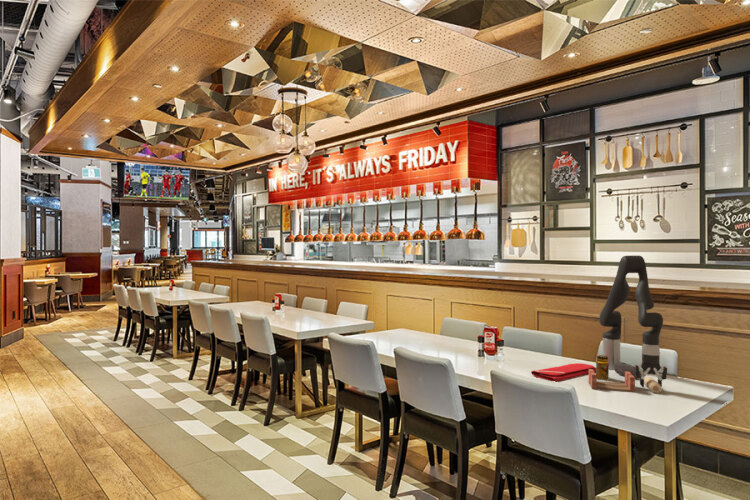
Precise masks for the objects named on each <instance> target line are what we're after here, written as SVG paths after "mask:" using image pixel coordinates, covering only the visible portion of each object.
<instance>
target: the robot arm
mask: <svg viewBox="0 0 750 500" xmlns="http://www.w3.org/2000/svg"><path fill="white" fill-rule="evenodd" d="M628 274H637V275H638V282H637V285H636V287H635V290H634V296H635V300H636V303H637V307H638V308H637V311H638V314H637V315H638V317H637V320H638V323H639V325H640V326H642V327H643V328H650V329H649V330H647V331H644V332H643V333H642V344H641V345H642V346H641V364H634V367H635V375H636V377H637V378H639V385H640V386H641V387H642V388H645V384H644V378H646V377H647V375H656V378H657V383H658V384H659V385H660V386H661V388H662V386H663V381H664V380H667V376H668V375H667V374H668V367H667V366H664V365H663V366H661V365H660V364H661V363H660V362H661V361H660V357H661V356H660V354H661V352H660V350H661V349H660V335H661V331H662V328H663V325H664V324H663V323H664V317H663V315H662V314H661V313H659V312H648V310H652V309H653V308H655V303H654V300H653V295H652V294H651V291H650V286H649V285H650V284H649V278H648V271H647V265H646V261H645V258H644V257H643V256H641V255H623V256H622V257H621V258H620V260H619V263H618V267H617V272H616V275H615V278H614V281H613V284H612V286H611V288H610V291H609V294H608V297H607V299H606V301H605V304H604V306H603V308H602V309H601V312H600V314H599V318H598V319H599V324H600V326H602V327H610V329H609V330H607V331H605V332H603V333H602V355H603V356H607V357H608V362H609V370H612V371H613V370H614V371H615V363H616V362H621V336H622V335H621V334H622V322H623V321H622V319H623V318H622V314H621V312H620V311H618V310H616V309H618V308H619V307H621V306H622V305H623V304H625V303H626V301H627V300H628V299H629V297H630V293H631V288H630V284H629V283H628V281H627V279H626V278H627V276H628ZM641 369H642V371H641ZM639 370H640V371H641V375H639ZM660 370H661V371H662V374H660V373H659V372H660Z"/></svg>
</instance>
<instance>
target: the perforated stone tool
mask: <svg viewBox="0 0 750 500" xmlns="http://www.w3.org/2000/svg"><path fill="white" fill-rule="evenodd" d="M625 371H627V372H630V373H631V374H632V375H633V376H634V377H635V380H636V379H639V380H640V378H637V377H636V375H635V365H632V364H630V363H629V364H628V363H626V362H622V361H620V362H616V363H615V370H614V372H615V373H616V374H618V375H620V376H621V377H622V376H623V377H625ZM641 373H642V371H641V369H640V370H639V375H641Z"/></svg>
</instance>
